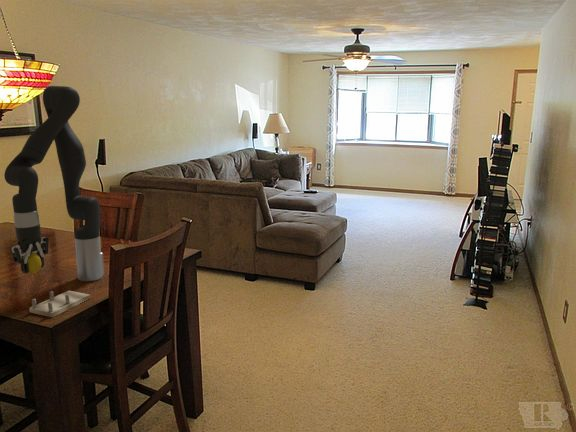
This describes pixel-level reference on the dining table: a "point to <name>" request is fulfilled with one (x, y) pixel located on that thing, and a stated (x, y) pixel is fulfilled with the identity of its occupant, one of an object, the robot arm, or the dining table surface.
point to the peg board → (58, 303)
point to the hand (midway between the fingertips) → (33, 269)
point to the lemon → (34, 263)
